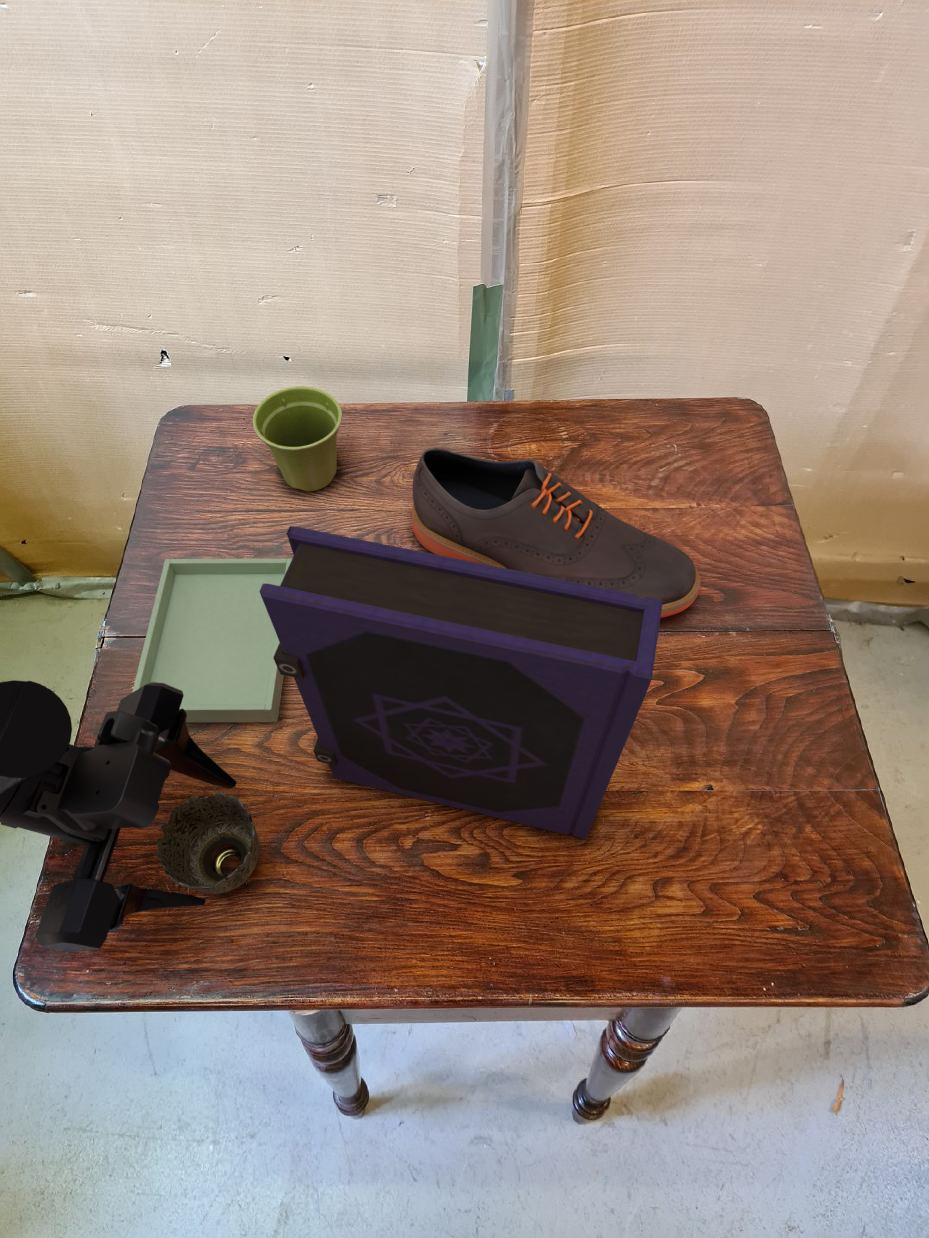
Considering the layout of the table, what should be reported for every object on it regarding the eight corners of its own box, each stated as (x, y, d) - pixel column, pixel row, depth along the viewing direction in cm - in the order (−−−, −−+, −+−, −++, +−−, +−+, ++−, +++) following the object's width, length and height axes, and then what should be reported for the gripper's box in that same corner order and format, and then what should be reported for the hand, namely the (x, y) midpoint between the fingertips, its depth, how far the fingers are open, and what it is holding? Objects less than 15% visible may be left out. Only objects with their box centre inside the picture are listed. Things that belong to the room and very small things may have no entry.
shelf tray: (138, 722, 75) (127, 710, 73) (173, 574, 84) (164, 558, 82) (277, 722, 75) (271, 709, 73) (297, 573, 84) (292, 558, 82)
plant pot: (330, 432, 95) (318, 375, 88) (365, 483, 91) (356, 427, 83) (257, 461, 93) (239, 405, 85) (289, 515, 88) (273, 461, 81)
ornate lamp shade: (185, 917, 66) (152, 894, 59) (188, 830, 70) (157, 799, 63) (276, 902, 66) (254, 878, 60) (273, 816, 70) (252, 784, 63)
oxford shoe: (680, 652, 79) (709, 588, 69) (391, 564, 85) (380, 494, 75) (702, 567, 84) (732, 496, 75) (429, 490, 90) (424, 415, 81)
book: (596, 777, 72) (664, 592, 46) (584, 845, 69) (651, 684, 43) (348, 720, 75) (286, 517, 50) (326, 781, 72) (247, 598, 46)
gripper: (-7, 913, 43) (243, 966, 52) (108, 622, 53) (302, 708, 62) (-62, 927, 50) (165, 972, 59) (48, 669, 60) (229, 740, 69)
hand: (218, 841), depth 62 cm, fingers open, 9 cm apart
